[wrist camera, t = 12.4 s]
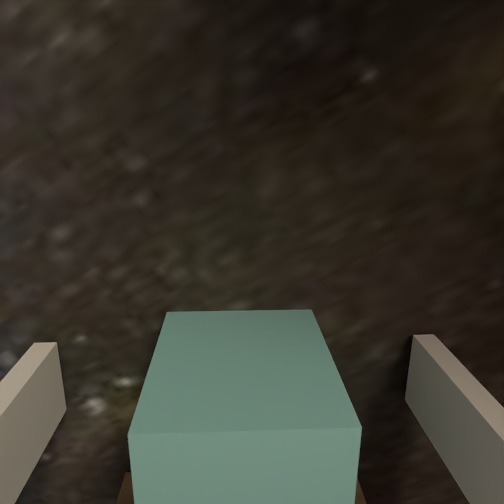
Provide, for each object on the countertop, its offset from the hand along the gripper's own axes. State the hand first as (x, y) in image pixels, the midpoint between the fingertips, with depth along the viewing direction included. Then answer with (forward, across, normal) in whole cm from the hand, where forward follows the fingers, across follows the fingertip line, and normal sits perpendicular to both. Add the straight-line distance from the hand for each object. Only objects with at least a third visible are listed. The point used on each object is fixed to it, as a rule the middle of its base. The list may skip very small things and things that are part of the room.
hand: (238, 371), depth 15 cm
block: (0, 0, 0) cm, 0 cm away
